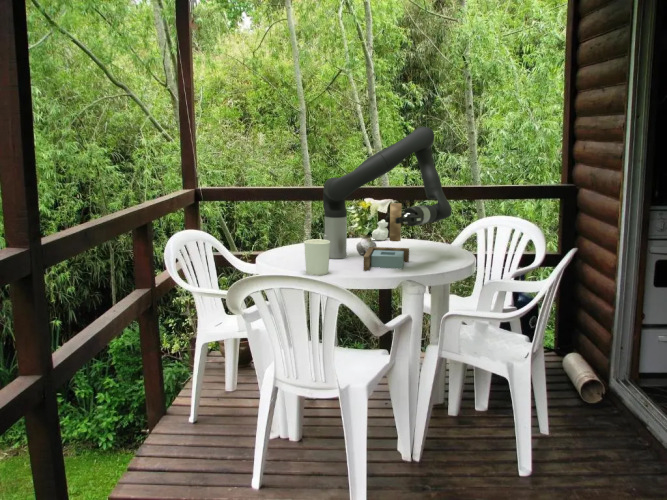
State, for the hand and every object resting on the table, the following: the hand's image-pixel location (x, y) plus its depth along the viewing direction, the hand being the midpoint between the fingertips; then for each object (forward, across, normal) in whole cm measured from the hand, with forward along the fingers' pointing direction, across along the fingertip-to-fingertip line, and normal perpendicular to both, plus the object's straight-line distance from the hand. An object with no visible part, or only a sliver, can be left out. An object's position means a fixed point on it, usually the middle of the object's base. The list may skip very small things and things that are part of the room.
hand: (391, 220), depth 246 cm
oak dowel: (-3, 0, +8) cm, 8 cm away
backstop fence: (-8, -7, +20) cm, 23 cm away
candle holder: (+19, -20, +20) cm, 34 cm away
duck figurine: (-55, -45, +20) cm, 73 cm away
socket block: (-10, -8, +20) cm, 24 cm away
